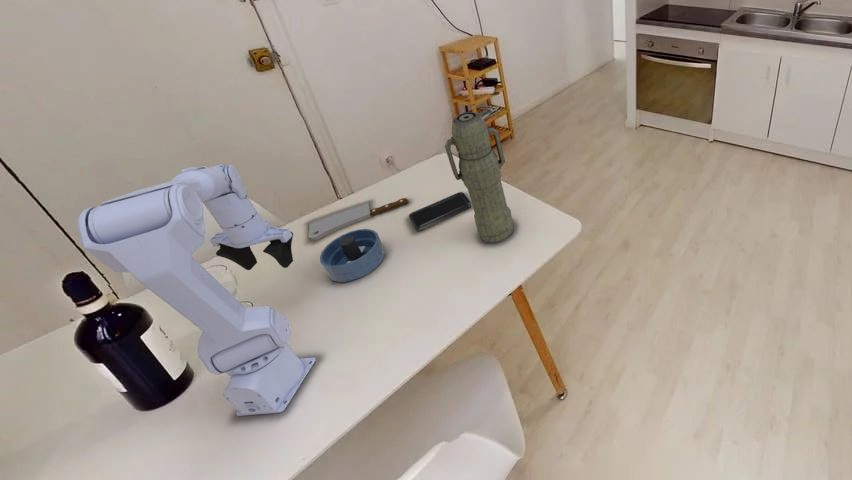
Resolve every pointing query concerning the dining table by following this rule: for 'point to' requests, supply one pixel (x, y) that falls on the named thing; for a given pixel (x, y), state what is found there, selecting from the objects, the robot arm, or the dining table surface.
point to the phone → (439, 211)
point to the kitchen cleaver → (347, 218)
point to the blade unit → (351, 249)
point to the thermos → (481, 175)
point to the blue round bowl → (342, 272)
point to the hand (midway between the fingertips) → (270, 265)
